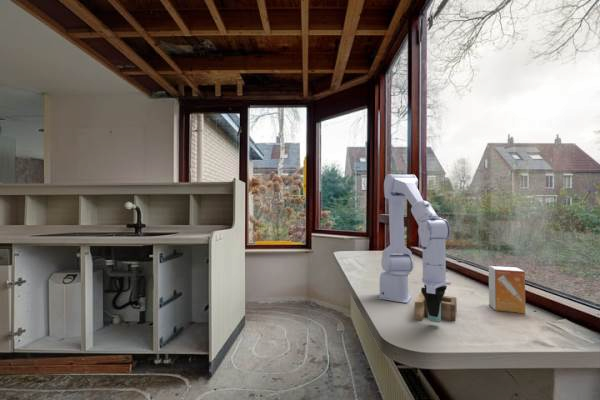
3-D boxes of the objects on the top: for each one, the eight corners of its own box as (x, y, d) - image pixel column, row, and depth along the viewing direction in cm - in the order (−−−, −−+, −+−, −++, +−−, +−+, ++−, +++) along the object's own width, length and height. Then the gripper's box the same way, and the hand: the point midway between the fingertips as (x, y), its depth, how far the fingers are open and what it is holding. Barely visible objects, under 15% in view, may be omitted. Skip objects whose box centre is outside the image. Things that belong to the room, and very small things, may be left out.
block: (424, 315, 85) (424, 300, 85) (428, 307, 91) (428, 293, 92) (455, 321, 80) (455, 304, 81) (456, 312, 87) (456, 297, 87)
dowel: (427, 320, 77) (426, 294, 77) (428, 316, 79) (428, 291, 79) (440, 323, 75) (440, 296, 75) (441, 319, 78) (441, 293, 78)
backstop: (414, 318, 82) (414, 301, 82) (422, 304, 95) (422, 289, 95) (422, 320, 81) (422, 302, 81) (429, 305, 94) (429, 290, 94)
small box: (495, 311, 89) (494, 269, 89) (488, 304, 95) (488, 265, 95) (526, 314, 86) (525, 271, 87) (517, 307, 92) (516, 267, 93)
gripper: (448, 270, 69) (448, 326, 69) (452, 260, 82) (452, 308, 81) (417, 266, 73) (417, 320, 73) (425, 258, 85) (426, 303, 85)
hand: (434, 313), depth 77 cm, fingers closed on dowel, 3 cm apart
